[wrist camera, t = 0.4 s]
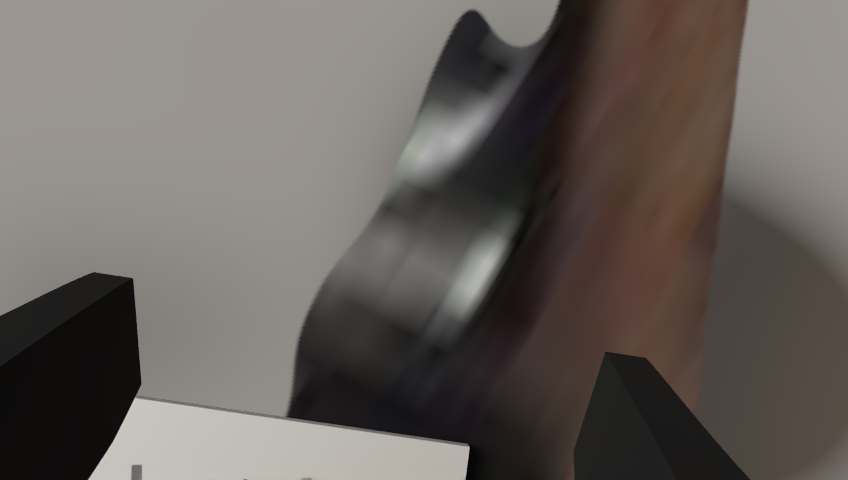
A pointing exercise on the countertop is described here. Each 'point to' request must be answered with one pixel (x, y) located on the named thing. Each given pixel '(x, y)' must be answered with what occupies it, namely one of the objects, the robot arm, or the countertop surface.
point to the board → (265, 448)
